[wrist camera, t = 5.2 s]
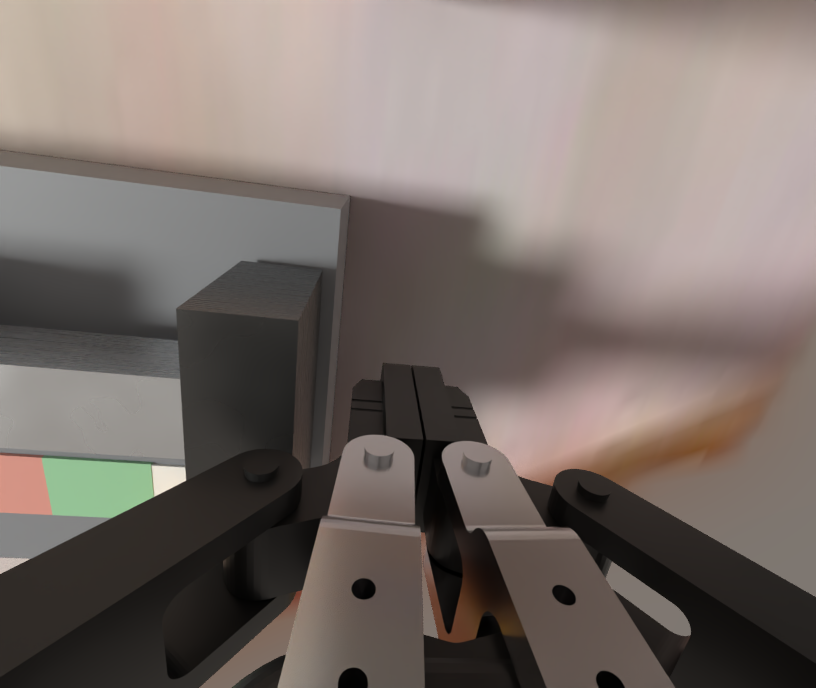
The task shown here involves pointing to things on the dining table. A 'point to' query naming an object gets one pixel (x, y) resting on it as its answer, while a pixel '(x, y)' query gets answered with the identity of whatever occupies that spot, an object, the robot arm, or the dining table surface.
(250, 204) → the gauge housing
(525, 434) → the dining table surface
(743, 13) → the dining table surface
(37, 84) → the dining table surface
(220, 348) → the plunger
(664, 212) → the dining table surface
